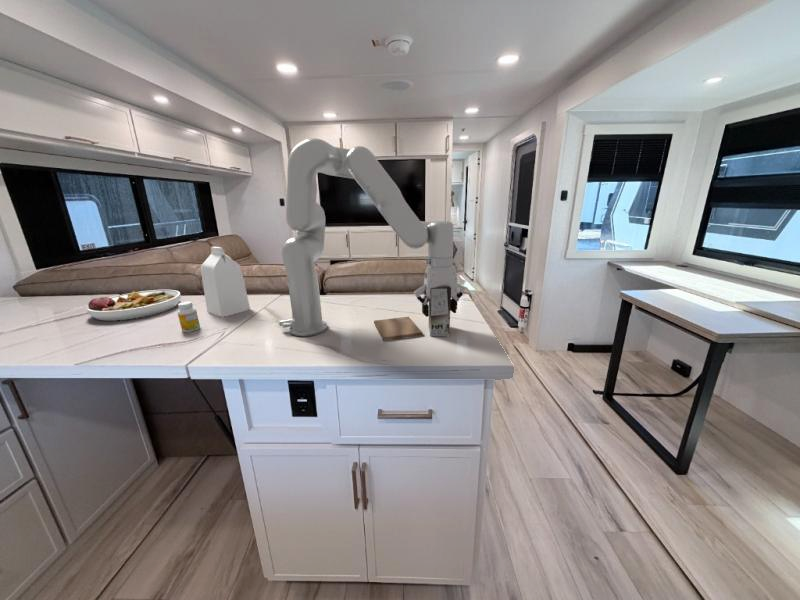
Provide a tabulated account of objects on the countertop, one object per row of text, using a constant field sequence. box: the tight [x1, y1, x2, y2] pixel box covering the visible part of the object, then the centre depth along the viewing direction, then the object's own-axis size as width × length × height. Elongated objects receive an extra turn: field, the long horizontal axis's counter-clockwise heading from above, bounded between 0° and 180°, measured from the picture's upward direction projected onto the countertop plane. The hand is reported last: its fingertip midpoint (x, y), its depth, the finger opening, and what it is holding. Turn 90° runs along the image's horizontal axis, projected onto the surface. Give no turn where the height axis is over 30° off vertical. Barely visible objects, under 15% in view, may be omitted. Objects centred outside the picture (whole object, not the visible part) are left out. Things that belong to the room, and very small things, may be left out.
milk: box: [200, 246, 251, 318], centre depth 122 cm, size 12×12×26 cm
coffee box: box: [428, 286, 452, 337], centre depth 99 cm, size 9×6×16 cm
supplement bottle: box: [177, 300, 201, 333], centre depth 106 cm, size 5×5×10 cm
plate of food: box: [86, 289, 182, 322], centre depth 127 cm, size 30×30×8 cm
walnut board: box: [373, 316, 423, 342], centre depth 103 cm, size 13×15×1 cm
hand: (439, 313), depth 100 cm, fingers open, 9 cm apart
